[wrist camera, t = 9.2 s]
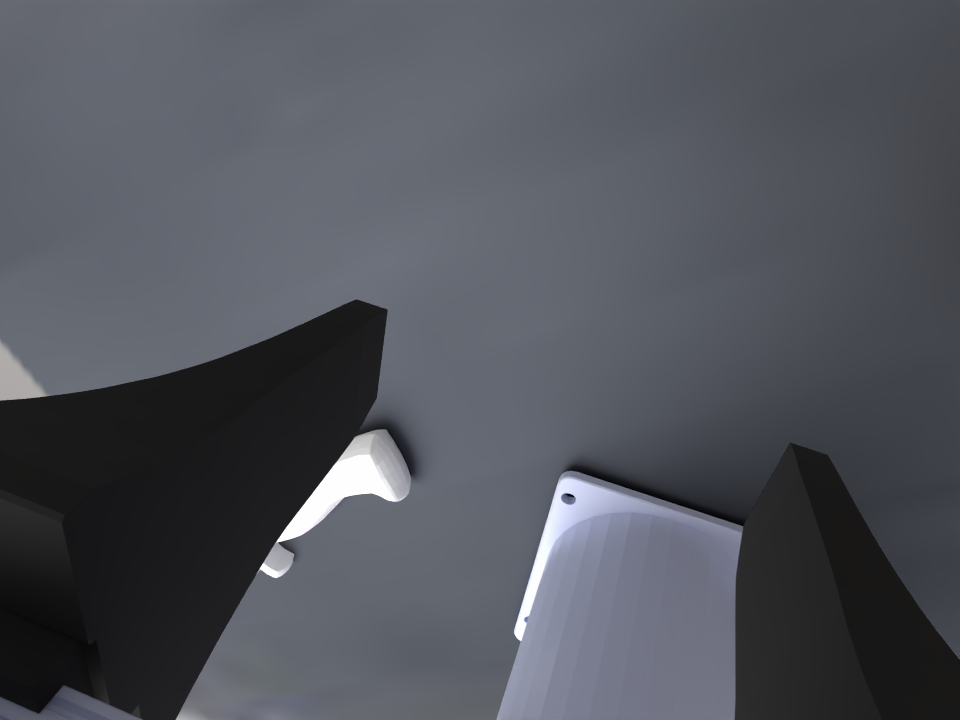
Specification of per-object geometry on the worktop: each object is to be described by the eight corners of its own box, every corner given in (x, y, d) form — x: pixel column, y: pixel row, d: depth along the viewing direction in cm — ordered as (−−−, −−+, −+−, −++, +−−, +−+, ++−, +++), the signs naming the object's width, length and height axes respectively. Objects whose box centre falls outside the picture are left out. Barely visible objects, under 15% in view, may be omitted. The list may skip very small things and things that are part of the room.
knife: (138, 703, 46) (36, 620, 44) (155, 679, 47) (58, 597, 45) (499, 586, 29) (358, 440, 27) (511, 553, 30) (378, 411, 28)
